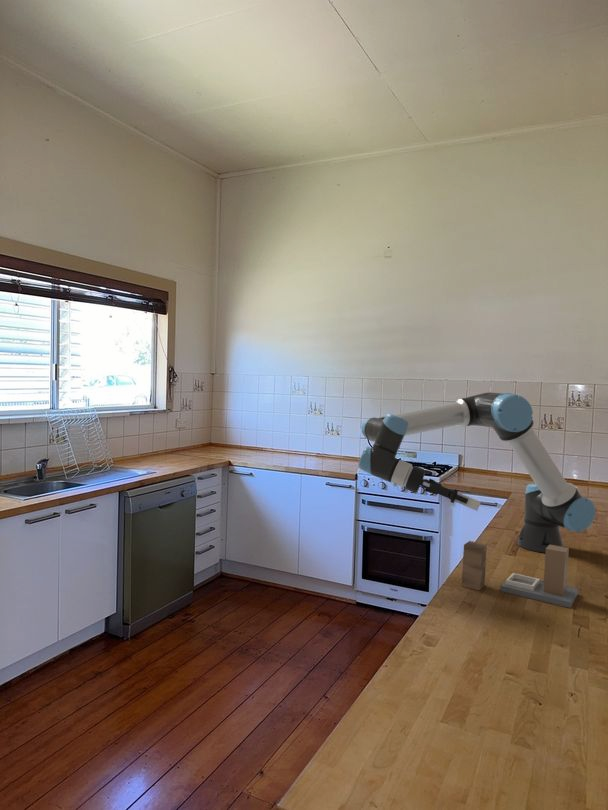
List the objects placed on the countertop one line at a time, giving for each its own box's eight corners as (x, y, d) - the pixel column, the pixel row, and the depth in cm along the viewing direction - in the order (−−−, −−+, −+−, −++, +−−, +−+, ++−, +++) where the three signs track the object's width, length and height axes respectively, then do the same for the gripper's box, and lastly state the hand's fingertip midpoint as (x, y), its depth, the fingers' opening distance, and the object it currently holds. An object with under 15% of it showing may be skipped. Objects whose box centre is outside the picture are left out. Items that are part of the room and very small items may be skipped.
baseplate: (511, 579, 167) (514, 534, 166) (577, 594, 157) (580, 546, 156) (500, 591, 157) (503, 543, 156) (570, 608, 147) (573, 557, 146)
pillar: (467, 581, 164) (469, 540, 163) (484, 585, 161) (486, 544, 161) (461, 586, 160) (463, 544, 159) (479, 590, 157) (481, 548, 156)
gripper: (407, 488, 180) (471, 515, 174) (400, 488, 156) (474, 520, 150) (416, 466, 180) (480, 493, 174) (410, 463, 156) (485, 494, 150)
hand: (478, 505), depth 162 cm, fingers open, 13 cm apart
